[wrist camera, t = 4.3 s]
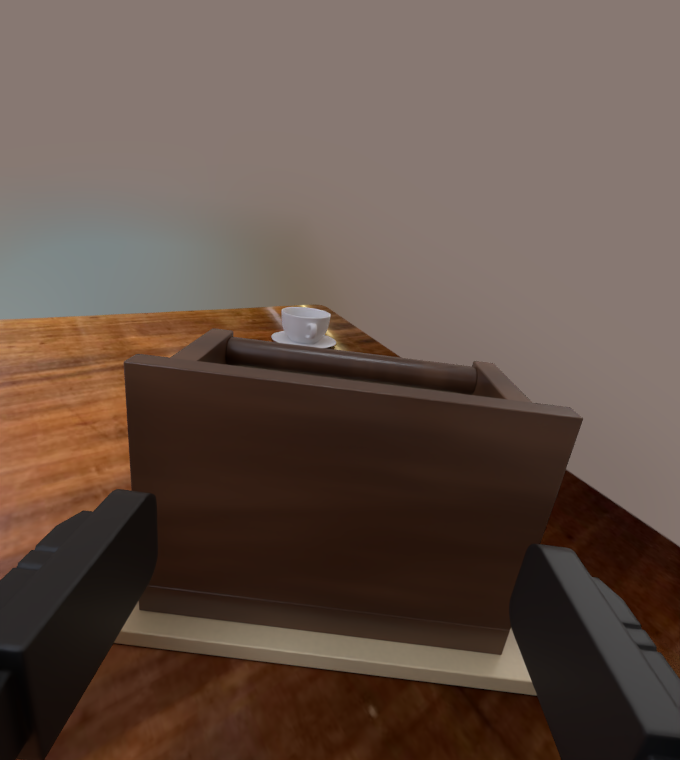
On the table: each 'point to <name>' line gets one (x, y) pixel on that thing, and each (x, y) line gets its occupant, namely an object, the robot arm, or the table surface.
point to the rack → (341, 488)
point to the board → (330, 651)
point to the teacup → (304, 327)
